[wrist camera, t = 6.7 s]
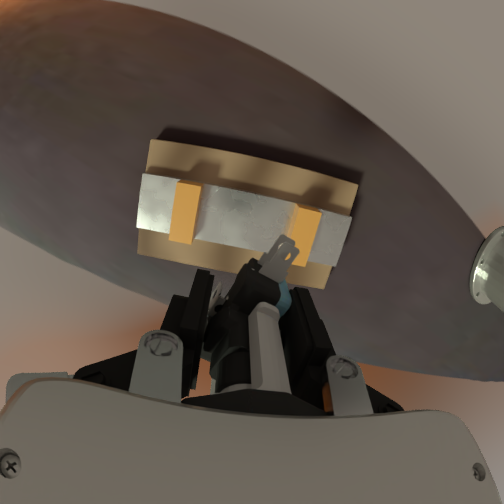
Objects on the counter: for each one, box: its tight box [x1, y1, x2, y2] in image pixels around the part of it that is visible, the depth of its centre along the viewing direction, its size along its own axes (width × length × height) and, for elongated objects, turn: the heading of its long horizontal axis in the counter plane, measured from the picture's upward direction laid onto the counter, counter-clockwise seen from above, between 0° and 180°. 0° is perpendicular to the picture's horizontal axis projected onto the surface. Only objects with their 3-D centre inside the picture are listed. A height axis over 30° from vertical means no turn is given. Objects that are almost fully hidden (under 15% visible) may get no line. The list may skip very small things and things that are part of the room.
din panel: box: [137, 139, 358, 289], centre depth 26 cm, size 19×11×2 cm, turn 77°
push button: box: [181, 234, 327, 416], centre depth 9 cm, size 7×5×10 cm
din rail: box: [137, 172, 352, 267], centre depth 24 cm, size 19×5×1 cm, turn 77°
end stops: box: [169, 180, 322, 267], centre depth 23 cm, size 12×5×2 cm, turn 77°
